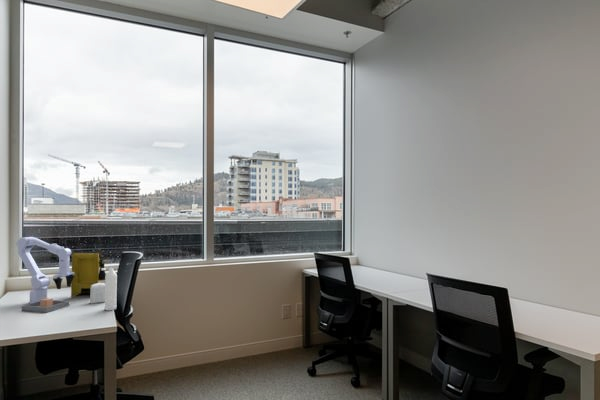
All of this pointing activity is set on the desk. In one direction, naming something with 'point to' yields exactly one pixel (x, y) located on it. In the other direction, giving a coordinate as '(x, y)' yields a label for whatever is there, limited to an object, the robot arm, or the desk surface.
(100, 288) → the photo printer
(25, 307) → the bin
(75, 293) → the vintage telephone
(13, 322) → the desk surface
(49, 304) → the terracotta block
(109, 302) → the white spray bottle
